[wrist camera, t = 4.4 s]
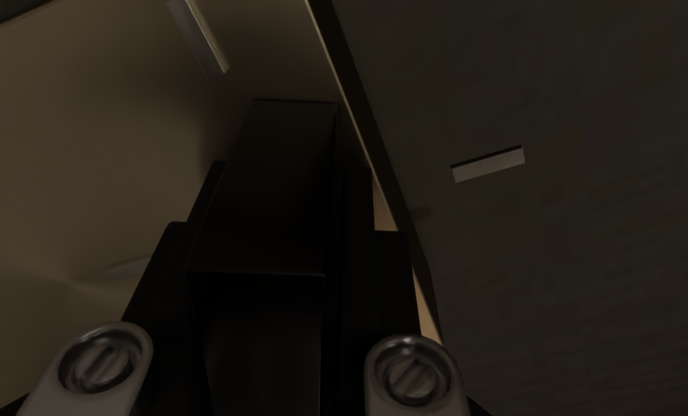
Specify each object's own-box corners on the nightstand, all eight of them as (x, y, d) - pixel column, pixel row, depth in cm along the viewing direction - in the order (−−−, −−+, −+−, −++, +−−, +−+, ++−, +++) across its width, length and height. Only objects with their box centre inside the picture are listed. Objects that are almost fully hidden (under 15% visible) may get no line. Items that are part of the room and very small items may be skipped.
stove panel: (432, -176, 9) (464, -186, 6) (520, 249, 15) (555, 330, 12) (-254, 136, 13) (-401, 205, 11) (33, 370, 19) (-16, 450, 17)
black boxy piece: (250, 98, 9) (174, 284, 5) (338, 103, 9) (326, 291, 5) (265, 304, 12) (225, 511, 8) (329, 306, 12) (317, 514, 8)
